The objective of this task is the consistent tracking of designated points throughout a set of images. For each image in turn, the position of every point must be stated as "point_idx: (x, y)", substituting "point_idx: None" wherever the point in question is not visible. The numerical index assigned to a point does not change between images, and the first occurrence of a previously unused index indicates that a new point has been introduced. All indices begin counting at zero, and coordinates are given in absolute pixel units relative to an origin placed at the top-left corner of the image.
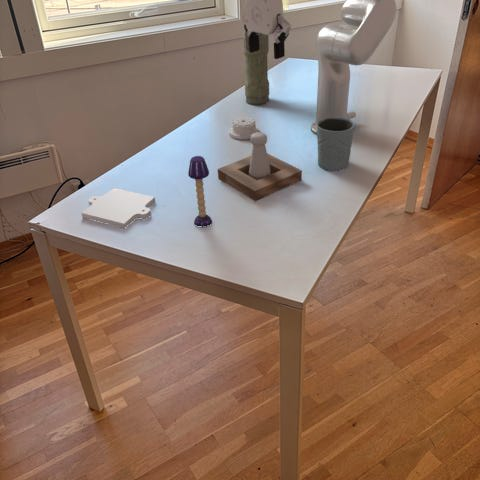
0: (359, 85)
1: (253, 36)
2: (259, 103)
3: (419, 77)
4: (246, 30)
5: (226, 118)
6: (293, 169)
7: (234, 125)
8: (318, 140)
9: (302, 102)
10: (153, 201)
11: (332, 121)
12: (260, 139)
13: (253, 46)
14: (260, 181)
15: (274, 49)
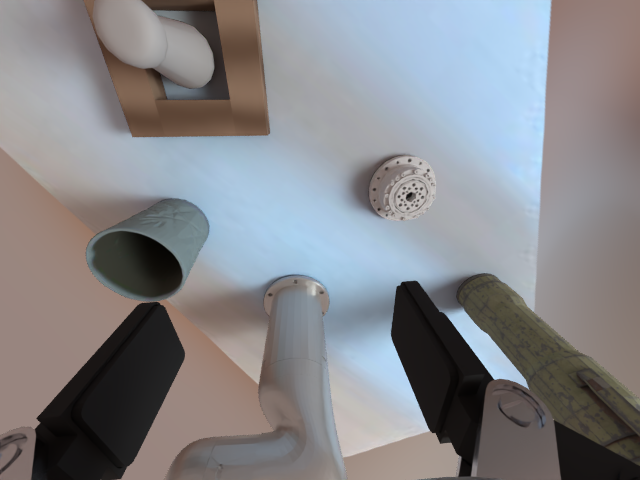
0: (382, 400)
1: (451, 405)
2: (464, 285)
3: (341, 442)
4: (590, 449)
5: (481, 206)
6: (145, 125)
7: (415, 169)
8: (159, 219)
9: None
10: None
11: (181, 280)
12: (93, 12)
13: (409, 325)
14: None
15: (104, 355)
